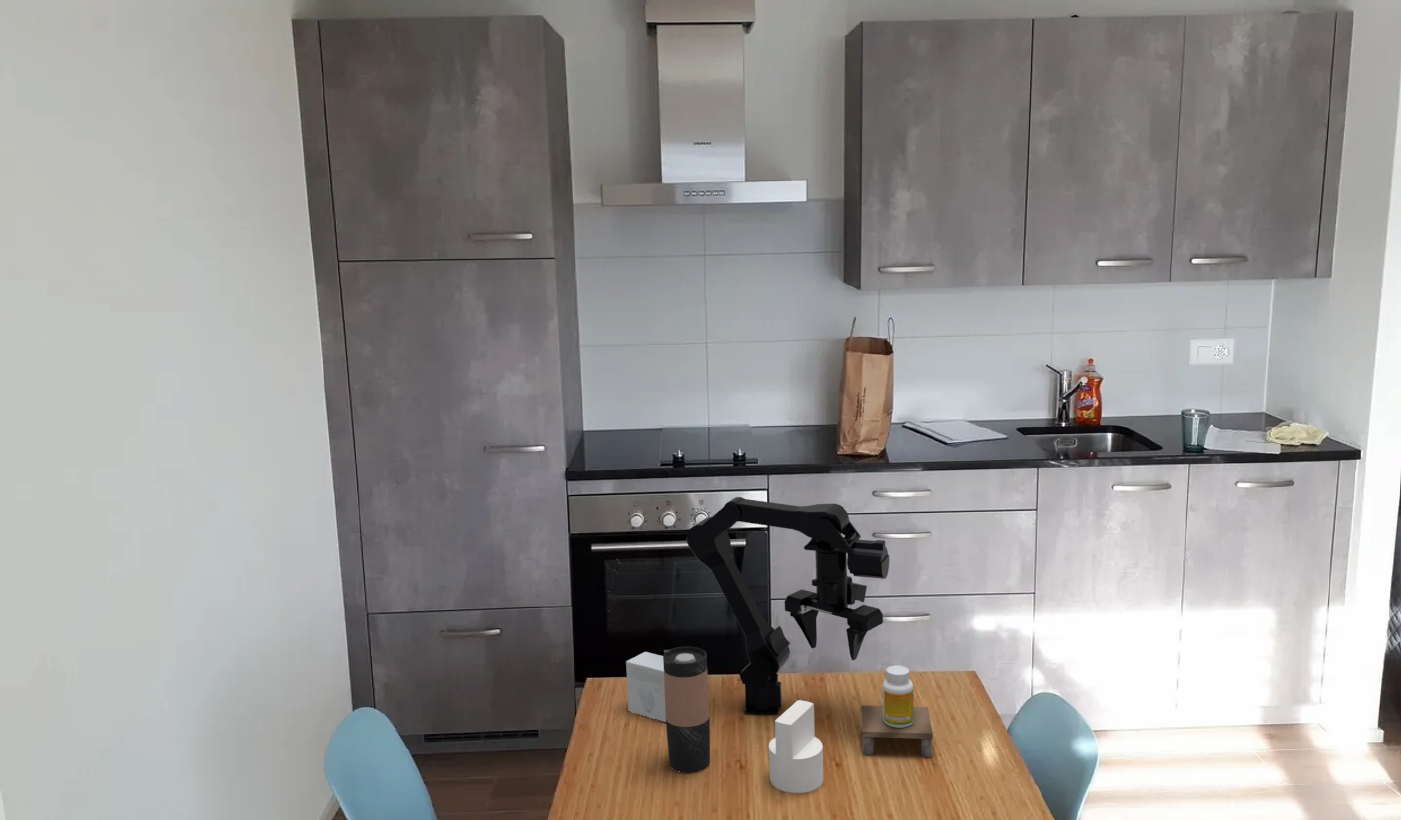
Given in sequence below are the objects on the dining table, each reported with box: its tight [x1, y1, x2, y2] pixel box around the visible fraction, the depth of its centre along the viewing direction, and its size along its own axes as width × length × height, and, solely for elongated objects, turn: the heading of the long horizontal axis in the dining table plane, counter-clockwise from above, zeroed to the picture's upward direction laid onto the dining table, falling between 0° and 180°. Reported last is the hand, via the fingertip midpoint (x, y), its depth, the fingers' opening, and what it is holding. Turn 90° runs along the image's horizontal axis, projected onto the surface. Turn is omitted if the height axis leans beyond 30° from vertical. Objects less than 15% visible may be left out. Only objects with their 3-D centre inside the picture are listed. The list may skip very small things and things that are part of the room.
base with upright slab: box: [768, 699, 824, 794], centre depth 169 cm, size 9×9×12 cm
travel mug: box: [662, 646, 711, 774], centre depth 175 cm, size 8×8×20 cm
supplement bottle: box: [881, 665, 915, 728], centre depth 178 cm, size 5×5×10 cm
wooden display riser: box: [861, 705, 934, 758], centre depth 180 cm, size 12×10×4 cm
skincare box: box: [625, 651, 666, 723], centre depth 196 cm, size 10×6×10 cm, turn 54°
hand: (833, 653), depth 188 cm, fingers open, 9 cm apart
